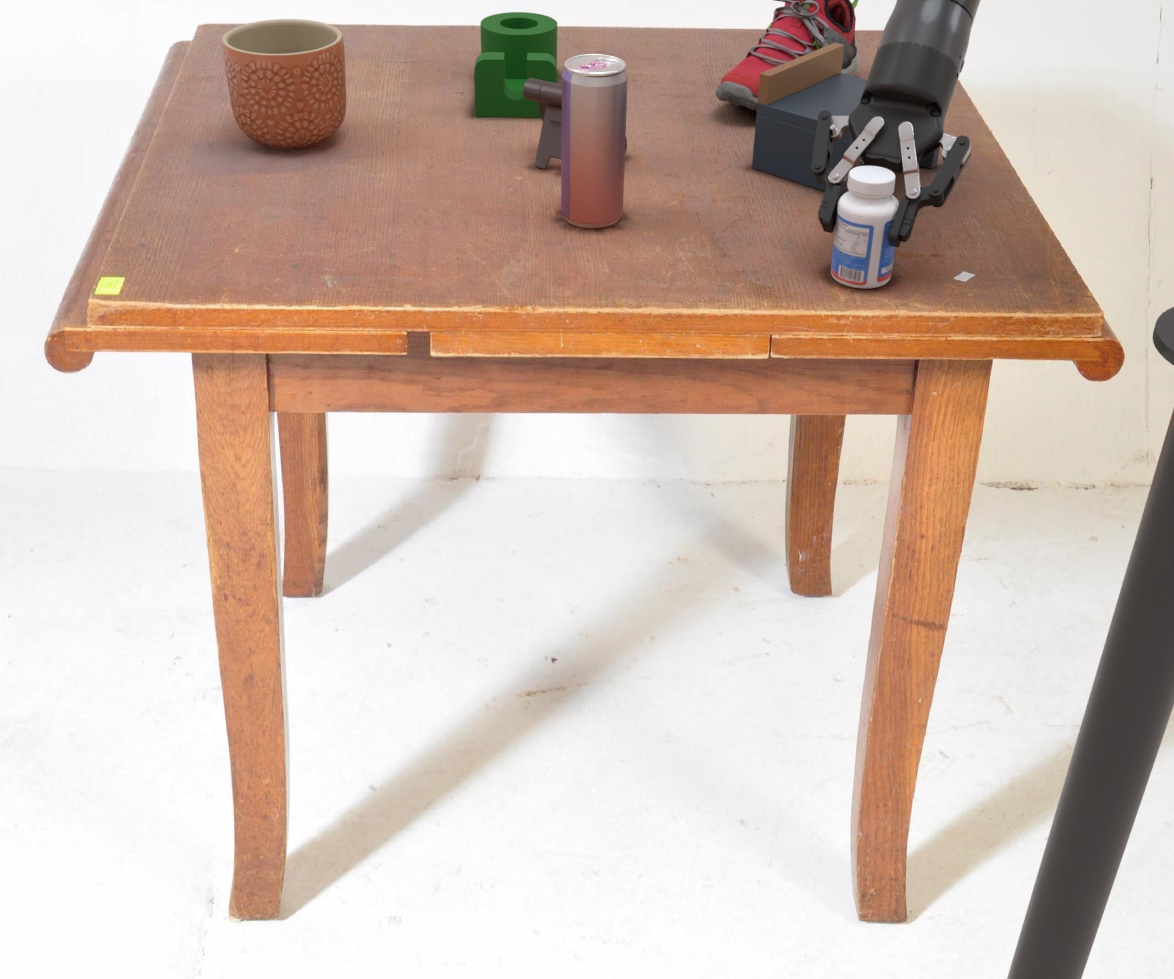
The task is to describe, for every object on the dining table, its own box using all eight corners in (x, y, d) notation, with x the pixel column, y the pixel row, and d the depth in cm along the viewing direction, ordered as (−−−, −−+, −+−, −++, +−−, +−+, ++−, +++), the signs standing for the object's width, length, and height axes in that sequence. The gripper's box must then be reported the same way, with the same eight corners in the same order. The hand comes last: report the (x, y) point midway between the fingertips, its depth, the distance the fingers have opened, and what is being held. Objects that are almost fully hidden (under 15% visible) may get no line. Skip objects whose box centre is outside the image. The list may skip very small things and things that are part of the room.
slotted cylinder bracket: (483, 64, 175) (482, 11, 172) (557, 66, 176) (557, 13, 172) (475, 116, 161) (474, 59, 157) (555, 117, 161) (556, 60, 157)
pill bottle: (876, 261, 131) (890, 159, 126) (900, 287, 127) (916, 183, 122) (819, 267, 130) (832, 164, 125) (842, 293, 126) (856, 188, 121)
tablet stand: (628, 156, 152) (631, 78, 147) (591, 181, 146) (593, 100, 141) (556, 140, 155) (556, 63, 150) (517, 163, 149) (517, 84, 145)
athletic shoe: (675, 104, 165) (681, -2, 158) (827, 63, 178) (838, -36, 172) (750, 135, 157) (759, 26, 151) (903, 91, 170) (918, -12, 164)
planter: (318, 110, 161) (309, 12, 155) (371, 144, 153) (364, 42, 147) (214, 132, 155) (201, 30, 149) (264, 169, 147) (252, 62, 141)
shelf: (937, 166, 151) (952, 72, 145) (867, 205, 142) (880, 106, 137) (824, 133, 158) (835, 42, 153) (751, 168, 150) (759, 73, 144)
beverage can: (548, 216, 138) (548, 61, 130) (593, 200, 142) (597, 48, 133) (589, 236, 135) (593, 78, 126) (635, 219, 138) (641, 65, 130)
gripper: (834, 27, 126) (774, 202, 124) (997, 52, 121) (937, 236, 119) (845, 69, 133) (789, 236, 131) (1000, 96, 128) (944, 270, 126)
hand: (860, 235), depth 125 cm, fingers closed on pill bottle, 5 cm apart
